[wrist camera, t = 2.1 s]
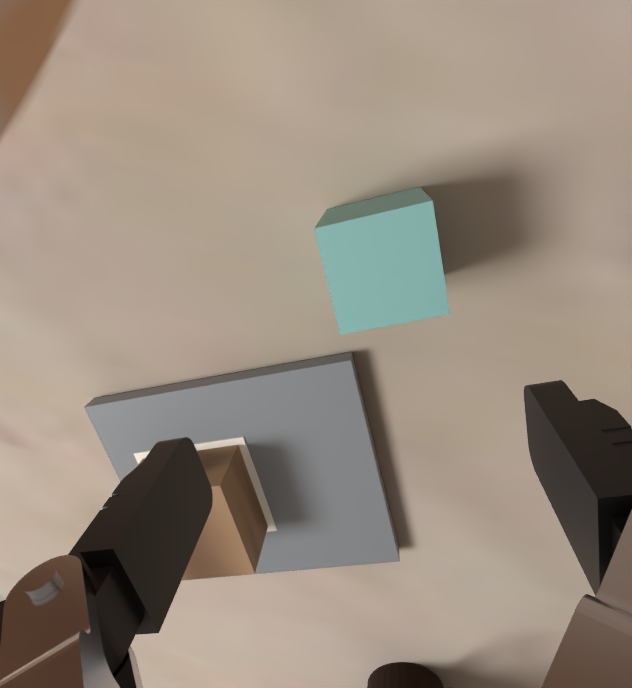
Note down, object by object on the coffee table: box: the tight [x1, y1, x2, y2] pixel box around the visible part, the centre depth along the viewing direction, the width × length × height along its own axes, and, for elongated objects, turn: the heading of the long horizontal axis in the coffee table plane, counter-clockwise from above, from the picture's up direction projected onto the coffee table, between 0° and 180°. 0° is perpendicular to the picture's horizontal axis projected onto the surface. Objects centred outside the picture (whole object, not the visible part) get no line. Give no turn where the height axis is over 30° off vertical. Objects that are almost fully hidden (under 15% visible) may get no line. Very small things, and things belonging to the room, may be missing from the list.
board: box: [84, 352, 400, 580], centre depth 33 cm, size 18×16×1 cm
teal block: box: [314, 187, 450, 335], centre depth 23 cm, size 5×5×6 cm
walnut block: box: [138, 445, 268, 580], centre depth 31 cm, size 7×7×4 cm
